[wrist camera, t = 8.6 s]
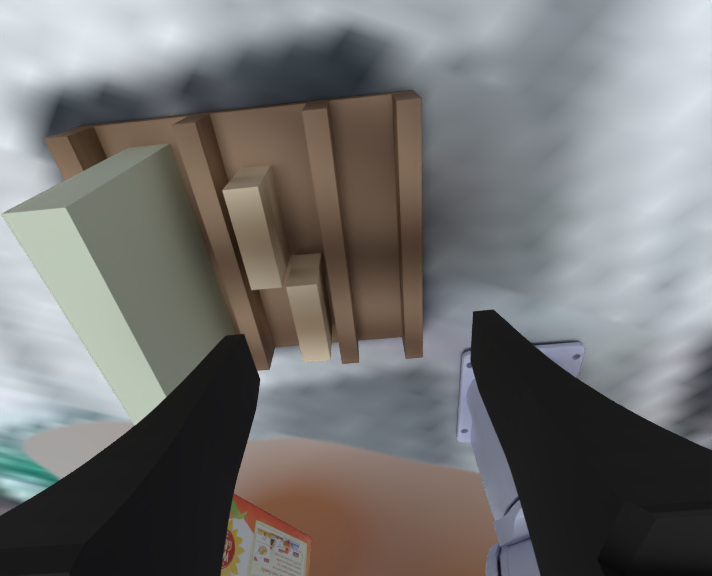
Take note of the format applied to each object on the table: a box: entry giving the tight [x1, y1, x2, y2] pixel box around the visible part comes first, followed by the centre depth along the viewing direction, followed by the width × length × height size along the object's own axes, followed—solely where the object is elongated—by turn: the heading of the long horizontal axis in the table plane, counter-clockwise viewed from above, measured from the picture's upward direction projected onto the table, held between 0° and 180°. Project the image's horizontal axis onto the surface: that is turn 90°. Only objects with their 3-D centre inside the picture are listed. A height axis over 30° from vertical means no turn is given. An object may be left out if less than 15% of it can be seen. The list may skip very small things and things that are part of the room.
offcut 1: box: [222, 165, 290, 290], centre depth 19 cm, size 5×2×3 cm, turn 6°
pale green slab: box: [1, 143, 236, 425], centre depth 18 cm, size 12×2×8 cm, turn 6°
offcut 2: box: [286, 253, 333, 362], centre depth 22 cm, size 5×2×3 cm, turn 6°
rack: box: [44, 90, 423, 371], centre depth 21 cm, size 14×16×3 cm
